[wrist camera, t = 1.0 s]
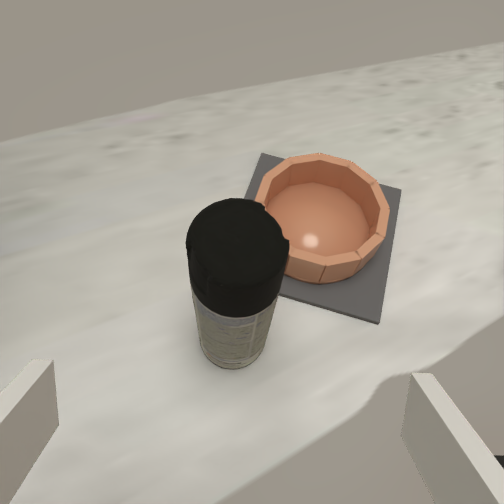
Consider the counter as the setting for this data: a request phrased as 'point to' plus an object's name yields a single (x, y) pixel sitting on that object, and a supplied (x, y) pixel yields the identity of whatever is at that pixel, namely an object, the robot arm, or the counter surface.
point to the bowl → (325, 215)
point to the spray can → (235, 278)
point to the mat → (355, 287)
